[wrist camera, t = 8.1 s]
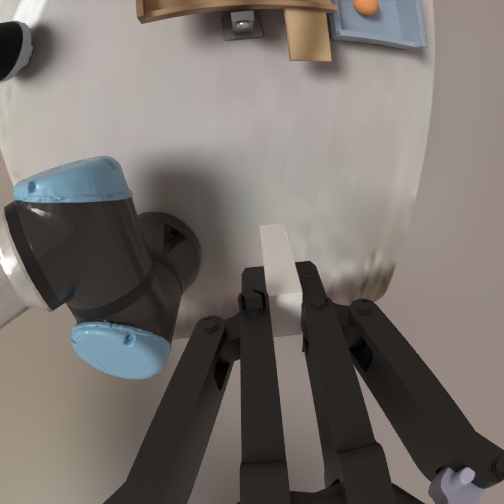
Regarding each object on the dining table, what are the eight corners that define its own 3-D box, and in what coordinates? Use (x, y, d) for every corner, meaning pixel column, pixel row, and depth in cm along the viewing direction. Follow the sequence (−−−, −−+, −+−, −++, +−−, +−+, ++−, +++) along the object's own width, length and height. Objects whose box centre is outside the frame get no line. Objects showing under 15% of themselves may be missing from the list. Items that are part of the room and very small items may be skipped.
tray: (331, 39, 29) (345, 32, 24) (321, -28, 23) (332, -43, 18) (404, 49, 29) (426, 47, 24) (394, -15, 23) (413, -24, 18)
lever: (147, 78, 25) (143, 75, 22) (139, -16, 18) (134, -26, 15) (335, 62, 28) (348, 60, 25) (323, -24, 21) (335, -32, 18)
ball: (384, 14, 23) (374, 19, 26) (380, -7, 21) (371, -1, 24) (359, 10, 24) (351, 16, 27) (355, -12, 22) (348, -5, 25)
